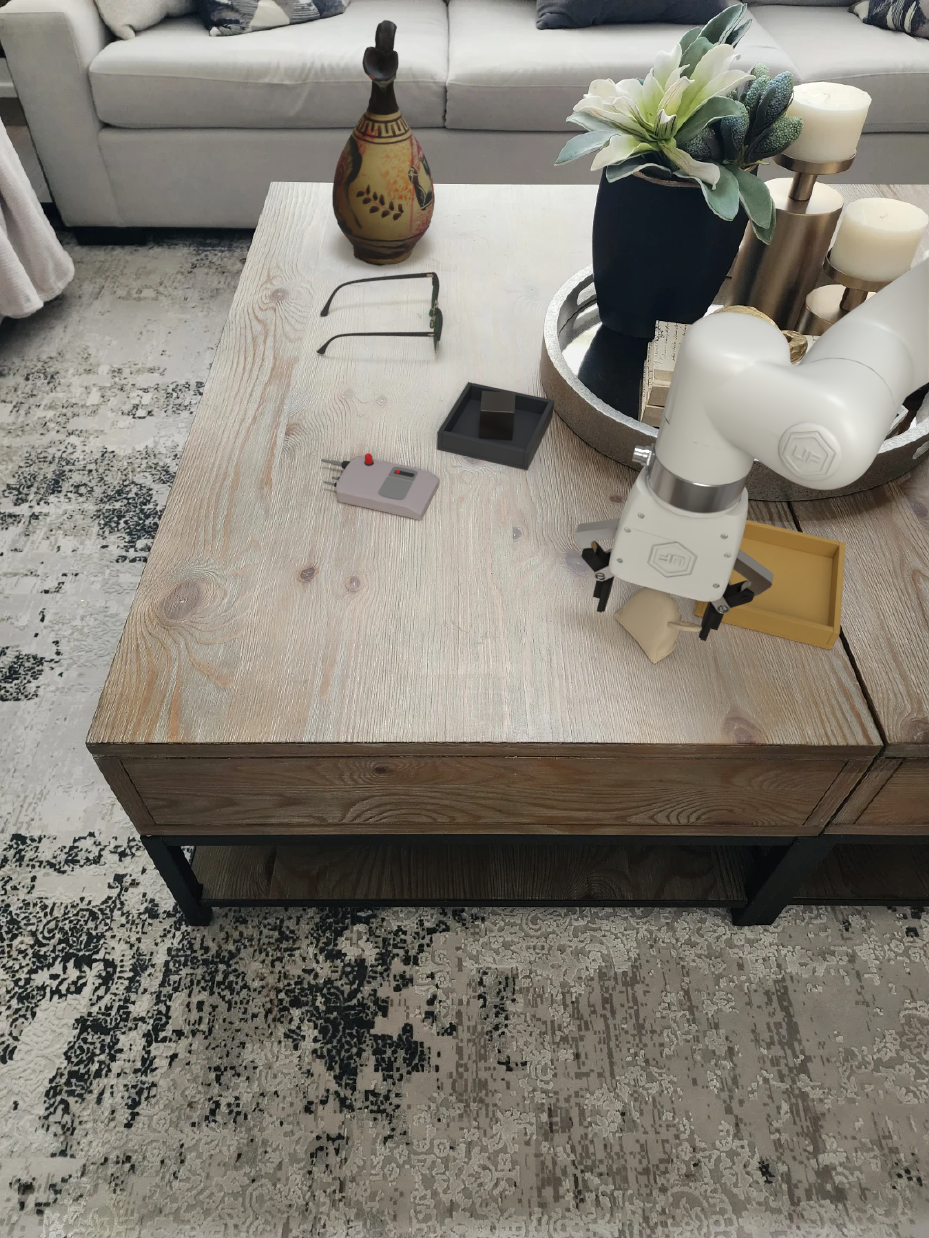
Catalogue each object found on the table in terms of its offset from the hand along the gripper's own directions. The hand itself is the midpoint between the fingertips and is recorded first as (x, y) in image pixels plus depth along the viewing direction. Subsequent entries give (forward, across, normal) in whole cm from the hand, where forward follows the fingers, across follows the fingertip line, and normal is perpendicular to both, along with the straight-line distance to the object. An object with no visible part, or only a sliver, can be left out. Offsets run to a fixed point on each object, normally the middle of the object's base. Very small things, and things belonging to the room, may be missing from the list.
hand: (653, 615), depth 80 cm
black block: (+3, -24, +26) cm, 35 cm away
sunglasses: (+4, -46, +42) cm, 62 cm away
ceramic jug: (+4, -54, +66) cm, 86 cm away
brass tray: (+3, +10, +11) cm, 15 cm away
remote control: (+4, -32, +11) cm, 34 cm away
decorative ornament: (+3, 0, 0) cm, 3 cm away
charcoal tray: (+3, -24, +26) cm, 35 cm away
